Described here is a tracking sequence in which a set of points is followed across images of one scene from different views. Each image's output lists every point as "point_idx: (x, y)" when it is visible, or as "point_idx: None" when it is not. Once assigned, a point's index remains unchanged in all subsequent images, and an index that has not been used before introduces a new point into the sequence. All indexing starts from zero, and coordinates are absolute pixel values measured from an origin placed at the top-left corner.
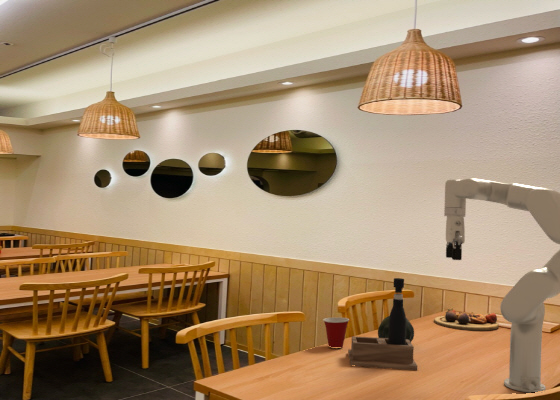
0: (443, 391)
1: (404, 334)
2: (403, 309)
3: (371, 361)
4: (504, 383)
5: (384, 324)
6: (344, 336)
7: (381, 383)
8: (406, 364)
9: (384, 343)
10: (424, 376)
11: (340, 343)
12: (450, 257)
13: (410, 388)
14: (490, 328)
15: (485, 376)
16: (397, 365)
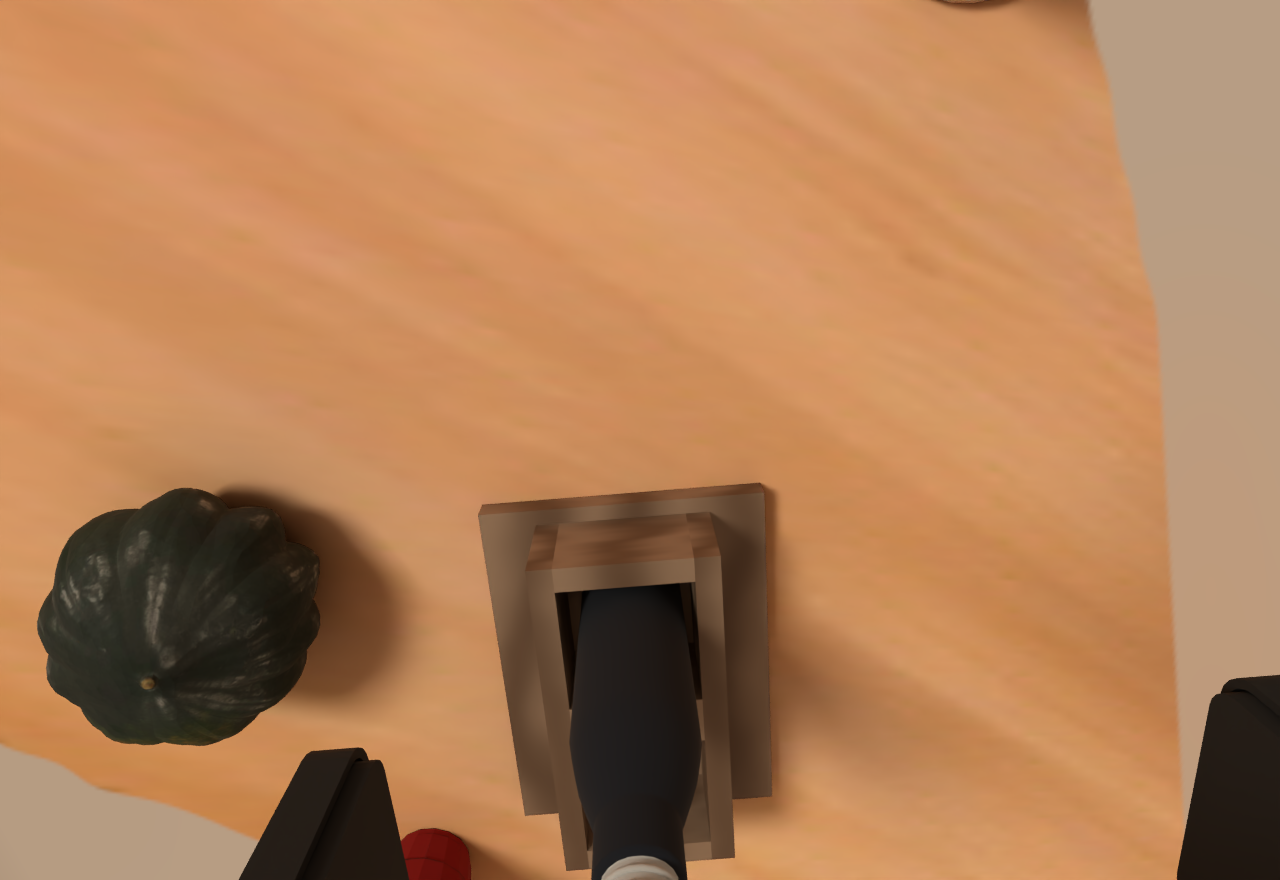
0: (1101, 389)
1: (670, 640)
2: (658, 775)
3: (738, 710)
4: (962, 1)
5: (236, 725)
6: (427, 877)
7: (1011, 654)
8: (749, 547)
9: None
10: (864, 455)
11: (458, 861)
12: (389, 853)
13: (1070, 537)
14: None
15: (789, 88)
16: (765, 589)
